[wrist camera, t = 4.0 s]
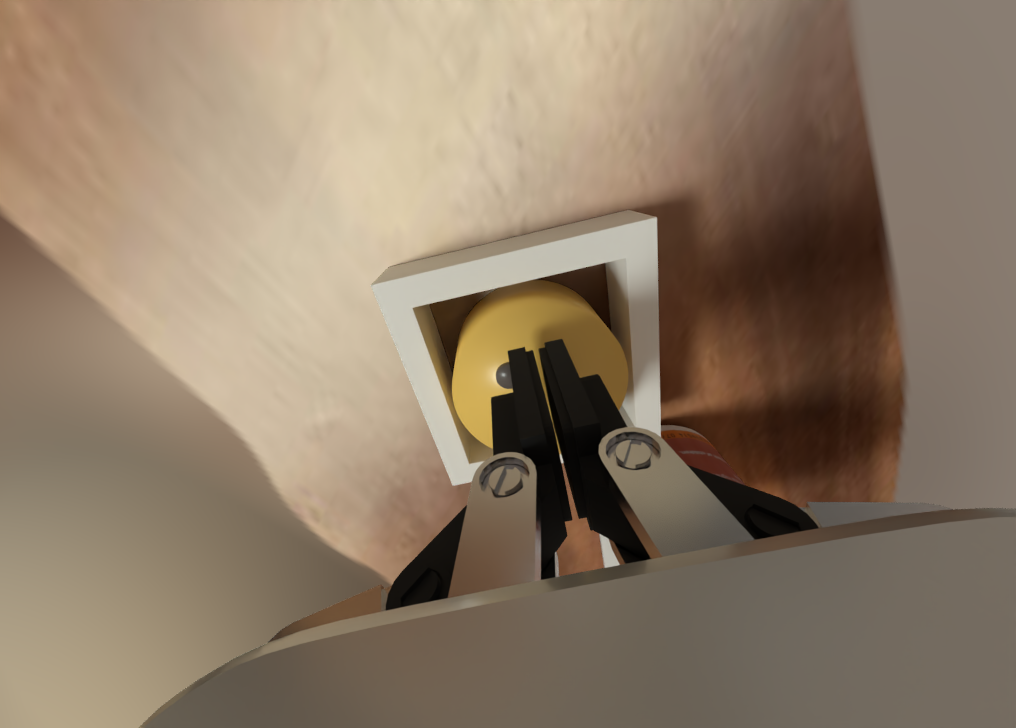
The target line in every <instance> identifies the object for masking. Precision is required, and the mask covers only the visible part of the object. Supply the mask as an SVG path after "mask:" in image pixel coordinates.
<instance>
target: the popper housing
mask: <svg viewBox="0 0 1016 728" xmlns="http://www.w3.org/2000/svg"><path fill="white" fill-rule="evenodd" d="M602 263H605V266H606V278H607V289H608V300H609V312H610V323H611V332H612V334H613V335H614V336H615V338H616V339H617V340H618V342H619V343H620V345H621V347H622V349H623V351H624V354H625V357H626V360H627V366H628V386H627V392H626V395H625V398H624V401H623V403H622V406H621V408H620V410H619V412H620V414H621V416H622V418H623V419H624V421H625V423H626V425H627V427H638V428H642V429H647V430H649V431H652V432H654V433H656V434H657V435H659V436H660V437H661V411H660V357H659V302H658V247H657V217H654V216H650V215H647V214H643V213H639V212H635V211H631V210H626V211H621V212H617V213H613V214H609V215H605V216H601V217H596V218H592V219H588V220H584V221H580V222H576V223H571V224H567V225H563V226H559V227H555V228H550V229H546V230H542V231H538V232H534V233H530V234H525V235H521V236H517V237H513V238H509V239H505V240H500V241H496V242H492V243H488V244H484V245H480V246H475V247H471V248H467V249H463V250H459V251H455V252H450V253H446V254H442V255H438V256H434V257H429V258H425V259H421V260H417V261H413V262H409V263H404V264H400V265H396V266H392V267H388V268H387V269H386V270H385V271H384V272H383V273H382V274H381V275H380V276H379V277H378V278H377V279H376V280H375V281H374V282H373V283H372V284H371V287H372V290H373V292H374V295H375V297H376V299H377V302H378V304H379V307H380V309H381V312H382V314H383V317H384V319H385V321H386V324H387V326H388V329H389V331H390V334H391V336H392V338H393V341H394V343H395V346H396V348H397V351H398V353H399V356H400V358H401V360H402V363H403V365H404V368H405V370H406V373H407V375H408V377H409V380H410V382H411V385H412V387H413V390H414V392H415V395H416V397H417V399H418V402H419V404H420V407H421V409H422V412H423V414H424V417H425V419H426V421H427V424H428V426H429V429H430V431H431V434H432V436H433V438H434V441H435V443H436V446H437V448H438V451H439V453H440V456H441V458H442V460H443V463H444V465H445V468H446V470H447V473H448V475H449V477H450V480H451V482H452V485H453V486H454V485H459V484H464V483H469V482H472V479H473V476H474V474H475V471H476V470H477V469H478V467H479V466H480V465H481V464H482V463H483V462H484V461H486V460H487V459H488V458H490V457H492V456H493V449H492V448H490V447H488V446H486V445H485V444H483V443H482V442H480V441H479V440H477V439H476V438H475V437H474V436H473V435H472V434H471V433H470V432H469V431H468V430H467V429H466V427H465V426H464V425H463V423H462V421H461V420H460V418H459V416H458V414H457V412H456V409H455V406H454V402H453V396H452V379H453V374H452V371H451V368H450V365H449V362H448V359H447V356H446V353H445V350H444V347H443V344H442V341H441V338H440V335H439V332H438V329H437V326H436V324H435V321H434V318H433V315H432V312H431V309H430V306H429V304H431V303H435V302H439V301H444V300H448V299H452V298H457V297H461V296H465V295H469V294H474V293H478V292H482V291H487V290H491V289H495V288H499V287H504V286H508V285H512V284H517V283H521V282H525V281H529V280H534V279H538V278H542V277H547V276H551V275H555V274H559V273H564V272H568V271H572V270H577V269H581V268H585V267H589V266H594V265H598V264H602ZM560 460H561V463H564V462H563V459H562V455H561V454H560Z"/></svg>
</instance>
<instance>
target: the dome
mask: <svg viewBox="0 0 1016 728" xmlns="http://www.w3.org/2000/svg"><path fill="white" fill-rule="evenodd" d="M558 339H562V340H563V342H564V344H565V346H566V348H567V350H568V353H569V355H570V357H571V359H572V362H573V364H574V366H575V368H576V370H577V373H578V375H579V377H580V378H581V377H586V376H591V375H595V374H598V375H599V376H600V377H601V379H602V381H603V383H604V385H605V386H606V388H607V390H608V392H609V394H610V396H611V397H612V399H613V401H614V403H615V405H616V407H617V408H618V410H620V408H621V406H622V403H623V401H624V398H625V395H626V392H627V386H628V366H627V360H626V357H625V354H624V351H623V349H622V347H621V345H620V343H619V342H618V340H617V339H616V338H615V336H614V335H613V334H612V332H611V331H610V330H609V329H608V327H607V326H606V325H605V324H604V322H603V321H602V320H601V319H600V317H599V316H598V315H597V314H596V312H595V311H594V310H593V308H592V307H591V306H590V305H589V304H588V303H587V301H586V300H585V299H584V298H583V297H581V296H580V295H579V294H577V293H576V292H575V291H573V290H571V289H569V288H568V287H566V286H563V285H561V284H558V283H554V282H550V281H544V280H529V281H525V282H521V283H517V284H512V285H508V286H504V287H500V288H498V289H496V290H494V291H493V292H491V293H489V294H488V295H486V296H485V297H484V298H483V299H481V300H480V301H479V302H478V303H477V304H476V305H475V306H474V307H473V309H472V310H471V311H470V313H469V314H468V316H467V317H466V319H465V321H464V323H463V325H462V328H461V331H460V334H459V339H458V345H457V352H456V358H455V365H454V372H453V379H452V396H453V402H454V406H455V409H456V412H457V414H458V416H459V418H460V420H461V421H462V423H463V425H464V426H465V427H466V429H467V430H468V431H469V432H470V433H471V434H472V435H473V436H474V437H475V438H476V439H477V440H479V441H480V442H482V443H483V444H485V445H486V446H488V447H490V448H492V449H493V439H492V414H491V397H494V396H498V395H503V394H508V393H512V392H513V387H512V380H511V372H510V365H509V358H508V351H509V350H513V349H518V348H522V347H525V349H526V351H530V350H533V352H534V356H535V360H536V363H537V367H538V371H539V374H540V378H541V382H542V386H543V389H544V393H545V397H546V400H547V404H548V408H549V411H550V406H549V401H548V396H547V391H546V386H545V381H544V375H543V370H542V365H541V360H540V355H539V350H538V349H539V348H544V347H545V345H544V343H545V342H549V341H554V340H558ZM550 415H551V411H550ZM551 419H552V416H551ZM552 423H553V421H552ZM553 426H554V425H553ZM554 431H555V429H554ZM555 435H556V433H555ZM556 439H557V436H556ZM557 444H558V440H557ZM558 449H559V454H561V451H560V448H559V444H558Z"/></svg>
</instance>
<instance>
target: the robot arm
mask: <svg viewBox="0 0 1016 728" xmlns="http://www.w3.org/2000/svg"><path fill="white" fill-rule="evenodd" d="M544 345H545V347H544V348H539V349H538V350H539V355H540V360H541V365H542V370H543V375H544V381H545V386H546V391H547V396H548V401H549V406H550V411H551V415H550V411H549V408H548V404H547V400H546V397H545V393H544V389H543V386H542V382H541V378H540V374H539V371H538V367H537V363H536V360H535V356H534V352H533V350H530V351H526V349H525V347H522V348H518V349H513V350H509V351H508V358H509V365H510V372H511V380H512V387H513V392H512V393H508V394H503V395H498V396H494V397H491V414H492V439H493V456H492V457H490V458H488V459H487V460H486V461H484V462H483V463H482V464H481V465H480V466H479V467H478V469H477V470H476V471H475V474H474V476H473V479H472V484H471V489H470V494H469V498H468V503H467V505H466V506H465V507H464V508H463V509H462V510H461V512H460V513H459V514H458V515H457V516H456V517H455V518H454V519H453V520H452V521H451V522H450V523H449V524H448V525H447V526H446V527H445V528H444V529H443V530H442V531H441V532H440V533H439V534H438V535H437V536H436V537H435V538H434V539H433V540H432V541H431V542H430V543H429V544H428V545H427V546H426V547H425V548H424V549H423V550H422V551H421V553H420V554H419V555H418V556H417V557H416V558H415V559H414V560H413V561H412V562H411V563H410V564H409V565H408V566H407V567H406V568H405V569H404V570H403V571H402V572H401V573H400V575H399V576H398V577H397V579H396V580H395V581H394V583H393V585H392V586H390V587H387V588H385V589H384V588H383V586H382V585H378V586H376V587H374V588H372V589H369V590H367V591H365V592H362V593H360V594H358V595H355V596H353V597H351V598H349V599H346V600H344V601H341V602H339V603H337V604H334V605H332V606H330V607H328V608H325V609H323V610H321V611H318V612H316V613H314V614H312V615H309V616H307V617H304V618H302V619H300V620H297V621H295V622H293V623H291V624H290V625H288V626H286V627H285V628H283V629H282V630H280V631H279V632H278V633H277V634H276V635H275V636H274V637H273V638H272V639H271V640H270V641H269V642H268V643H267V644H264V645H262V646H260V647H258V648H255V649H253V650H251V651H249V652H247V653H244V654H242V655H241V656H238V657H236V658H234V659H232V660H230V661H229V662H227V663H225V664H224V665H222V666H220V667H219V668H217V669H215V670H213V671H212V672H210V673H208V674H207V675H205V676H203V677H202V678H200V679H198V680H197V681H195V682H194V683H193V684H191V685H190V686H188V687H187V688H185V689H184V690H182V691H181V692H179V693H178V694H177V695H175V696H174V697H173V698H172V699H170V700H169V701H168V702H166V703H165V704H164V705H162V706H161V707H160V708H159V709H158V710H157V711H155V713H153V714H152V715H151V716H150V717H149V718H148V719H147V720H146V721H145V722H144V723H143V724H142V725H141V726H140V727H139V728H1016V509H1006V508H1005V509H1003V508H975V509H955V510H953V509H950V508H947V507H944V506H941V505H934V504H926V503H872V502H807V504H806V507H805V508H798V507H797V506H796V505H794V504H792V503H790V502H788V501H786V500H783V499H781V498H779V497H776V496H773V495H771V494H768V493H765V492H762V491H759V490H757V489H754V488H751V487H748V486H745V485H743V484H740V483H737V482H734V481H731V480H729V479H726V478H723V477H720V476H717V475H715V474H712V473H709V472H706V471H703V470H701V469H698V468H695V467H692V466H689V465H687V464H685V463H684V461H683V460H682V459H681V458H680V457H679V456H678V455H677V454H676V453H675V452H674V450H673V449H672V448H671V447H670V446H669V445H668V444H667V443H666V442H665V441H664V440H663V439H662V438H661V437H660V436H659V435H657V434H656V433H654V432H652V431H649V430H647V429H642V428H638V427H627V425H626V423H625V421H624V419H623V418H622V416H621V414H620V412H619V410H618V408H617V407H616V405H615V403H614V401H613V399H612V397H611V396H610V394H609V392H608V390H607V388H606V386H605V385H604V383H603V381H602V379H601V377H600V376H599V375H598V374H595V375H591V376H586V377H581V378H580V377H579V375H578V373H577V370H576V368H575V366H574V364H573V362H572V359H571V357H570V355H569V353H568V350H567V348H566V346H565V344H564V342H563V340H562V339H558V340H554V341H549V342H545V343H544ZM551 416H552V419H551ZM552 421H553V423H552ZM553 425H554V426H553ZM554 429H555V431H554ZM555 433H556V435H555ZM556 436H557V439H556ZM557 440H558V444H559V448H560V451H561V455H562V459H563V462H564V466H565V470H566V473H567V477H568V481H569V484H570V488H571V492H572V495H573V499H574V503H575V507H576V510H577V514H578V517H579V519H580V518H586V517H587V520H588V524H589V527H590V530H594V531H595V532H597V533H599V534H601V535H603V536H604V537H606V538H608V539H609V542H610V545H611V548H612V550H613V552H614V554H615V556H616V558H617V560H618V562H619V564H620V565H618V566H612V567H607V568H602V569H596V570H591V571H586V572H581V573H575V574H570V575H565V576H560V577H559V571H558V557H557V552H556V551H557V550H558V548H559V547H560V545H561V544H562V542H563V541H564V540H565V538H566V537H567V532H566V527H565V521H570V520H572V516H571V510H570V505H569V500H568V495H567V490H566V485H565V480H564V475H563V470H562V465H561V460H560V454H559V449H558V444H557Z"/></svg>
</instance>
